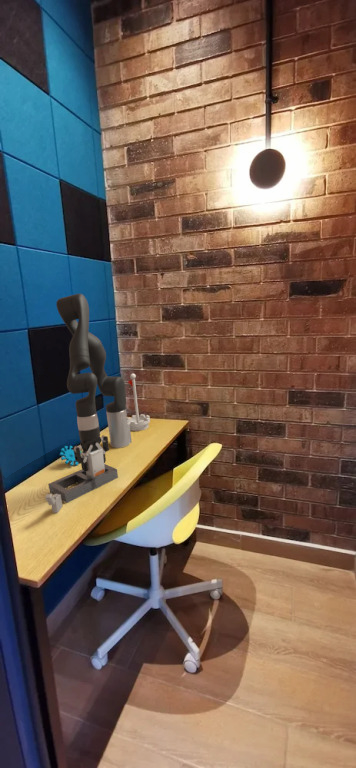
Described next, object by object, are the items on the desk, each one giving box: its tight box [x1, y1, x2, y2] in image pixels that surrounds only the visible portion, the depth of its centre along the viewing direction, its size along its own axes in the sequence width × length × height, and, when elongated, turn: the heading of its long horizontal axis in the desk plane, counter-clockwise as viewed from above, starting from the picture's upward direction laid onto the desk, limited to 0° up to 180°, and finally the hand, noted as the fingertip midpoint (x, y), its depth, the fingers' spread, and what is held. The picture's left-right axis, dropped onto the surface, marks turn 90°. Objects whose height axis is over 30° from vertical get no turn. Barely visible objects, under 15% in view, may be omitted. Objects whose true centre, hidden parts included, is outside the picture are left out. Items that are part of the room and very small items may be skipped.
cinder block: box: [48, 463, 119, 504], centre depth 131 cm, size 22×12×4 cm, turn 137°
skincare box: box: [84, 449, 105, 478], centre depth 134 cm, size 6×4×12 cm
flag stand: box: [127, 373, 151, 432], centre depth 188 cm, size 13×13×30 cm
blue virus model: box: [59, 445, 83, 467], centre depth 152 cm, size 11×6×10 cm
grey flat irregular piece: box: [44, 493, 63, 514], centre depth 114 cm, size 7×2×8 cm, turn 175°
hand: (94, 466), depth 134 cm, fingers open, 7 cm apart
